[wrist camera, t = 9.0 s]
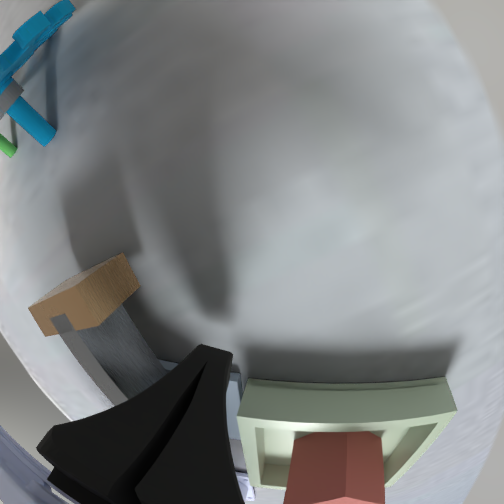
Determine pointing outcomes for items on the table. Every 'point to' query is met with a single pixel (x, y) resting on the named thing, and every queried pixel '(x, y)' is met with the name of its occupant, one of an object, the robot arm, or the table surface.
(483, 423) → the table surface
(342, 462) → the block
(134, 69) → the table surface
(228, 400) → the crank base
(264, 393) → the tray
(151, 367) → the crank
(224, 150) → the table surface
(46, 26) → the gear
